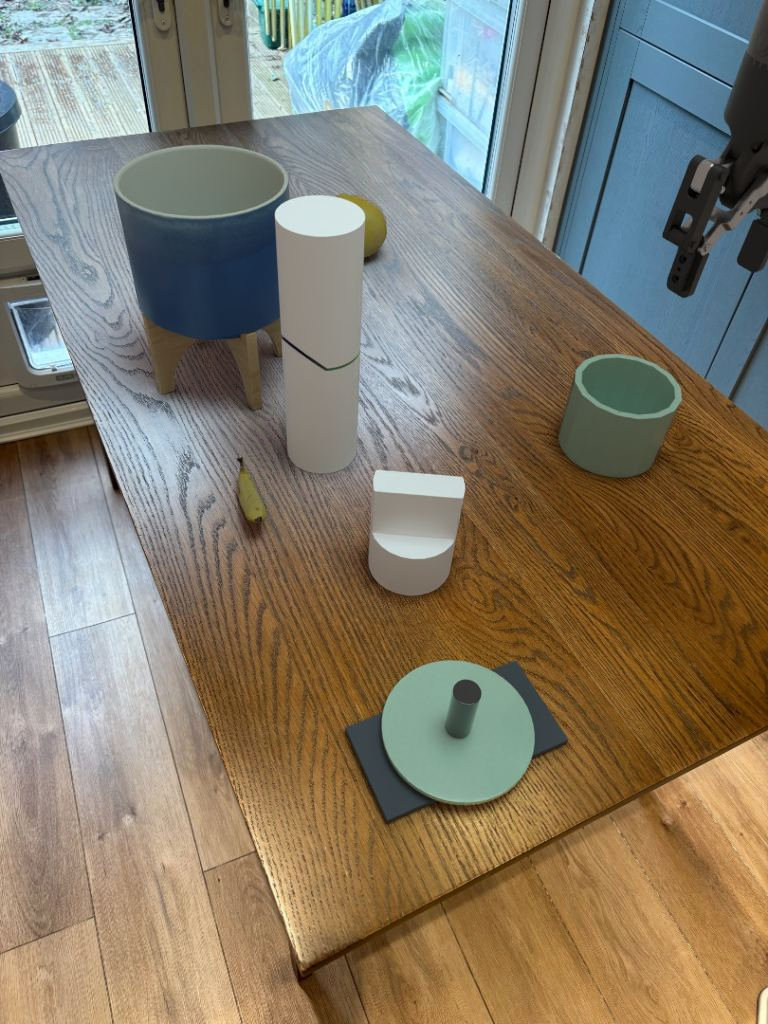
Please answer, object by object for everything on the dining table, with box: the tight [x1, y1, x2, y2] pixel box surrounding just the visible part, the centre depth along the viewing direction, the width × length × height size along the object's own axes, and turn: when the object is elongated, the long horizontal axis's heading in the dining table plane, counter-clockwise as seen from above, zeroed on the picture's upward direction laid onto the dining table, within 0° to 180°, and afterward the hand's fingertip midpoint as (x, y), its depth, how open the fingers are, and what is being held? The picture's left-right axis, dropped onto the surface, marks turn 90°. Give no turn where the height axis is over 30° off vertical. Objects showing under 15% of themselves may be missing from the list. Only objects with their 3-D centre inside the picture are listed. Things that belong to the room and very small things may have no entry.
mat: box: [344, 660, 569, 824], centre depth 67 cm, size 18×9×1 cm, turn 115°
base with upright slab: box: [367, 469, 466, 597], centre depth 77 cm, size 9×9×12 cm
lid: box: [381, 659, 535, 806], centre depth 65 cm, size 14×14×7 cm
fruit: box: [334, 192, 388, 259], centre depth 124 cm, size 10×11×10 cm
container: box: [275, 194, 365, 475], centre depth 82 cm, size 9×9×30 cm
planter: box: [113, 144, 290, 411], centre depth 93 cm, size 19×19×26 cm
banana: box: [236, 456, 267, 524], centre depth 84 cm, size 10×2×4 cm, turn 19°
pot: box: [557, 353, 683, 479], centre depth 93 cm, size 13×13×10 cm
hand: (714, 279), depth 60 cm, fingers open, 8 cm apart
